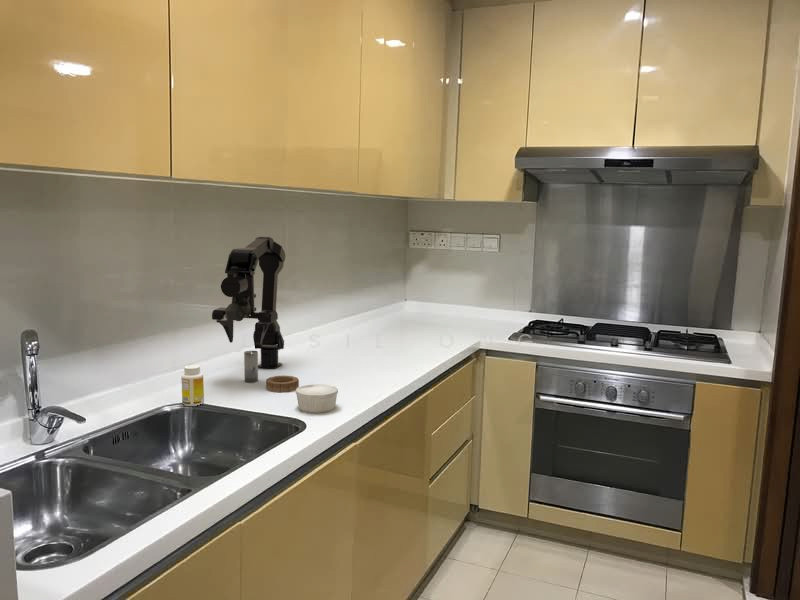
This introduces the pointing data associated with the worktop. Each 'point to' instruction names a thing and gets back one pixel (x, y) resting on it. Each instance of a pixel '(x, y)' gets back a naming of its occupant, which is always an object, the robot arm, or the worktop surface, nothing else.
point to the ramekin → (316, 398)
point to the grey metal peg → (251, 366)
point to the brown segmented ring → (282, 383)
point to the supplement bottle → (192, 386)
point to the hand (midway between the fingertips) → (245, 343)
